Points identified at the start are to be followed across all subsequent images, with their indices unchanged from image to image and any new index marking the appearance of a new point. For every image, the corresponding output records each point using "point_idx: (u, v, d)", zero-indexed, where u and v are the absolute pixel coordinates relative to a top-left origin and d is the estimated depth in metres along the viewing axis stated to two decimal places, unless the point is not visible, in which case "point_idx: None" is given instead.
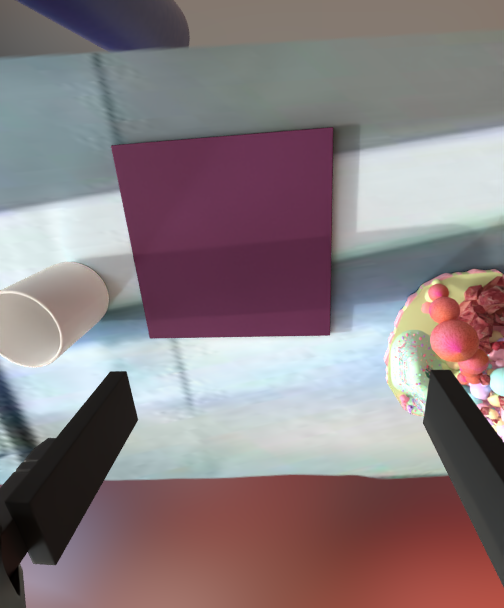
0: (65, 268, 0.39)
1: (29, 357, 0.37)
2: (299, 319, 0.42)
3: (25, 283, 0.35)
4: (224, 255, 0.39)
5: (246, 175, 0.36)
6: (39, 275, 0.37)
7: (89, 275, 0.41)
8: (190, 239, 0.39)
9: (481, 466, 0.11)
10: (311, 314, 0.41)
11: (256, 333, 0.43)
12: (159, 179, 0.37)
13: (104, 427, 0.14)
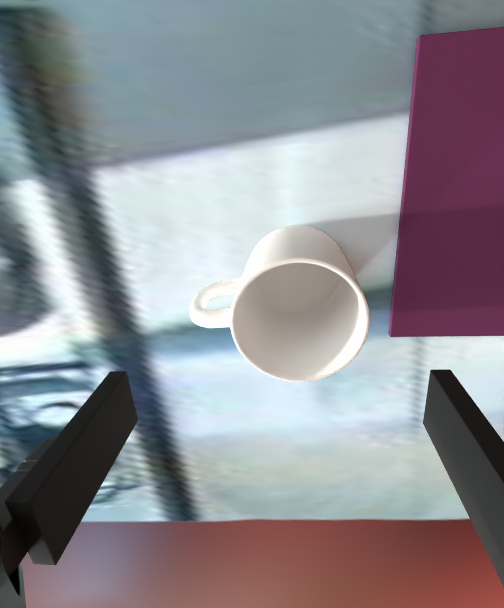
0: (311, 232, 0.26)
1: (281, 366, 0.24)
2: None
3: (303, 249, 0.22)
4: None
5: None
6: (299, 239, 0.24)
7: (336, 244, 0.28)
8: (502, 189, 0.26)
9: (481, 466, 0.11)
10: None
11: None
12: (483, 92, 0.24)
13: (104, 427, 0.14)
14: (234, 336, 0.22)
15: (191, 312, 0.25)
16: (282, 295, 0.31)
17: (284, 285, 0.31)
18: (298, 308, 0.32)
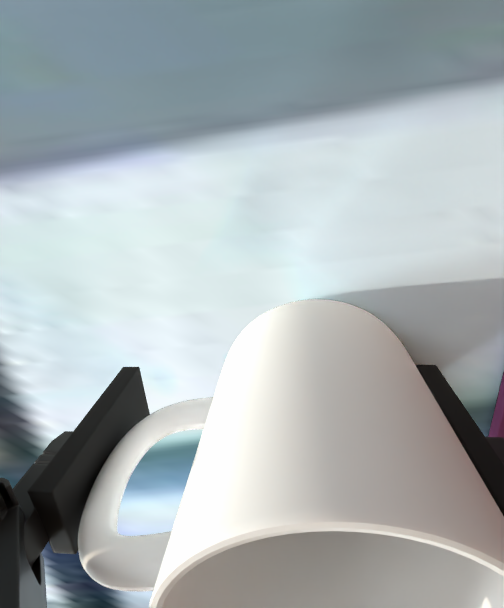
0: (353, 326, 0.12)
1: None
2: None
3: (356, 435, 0.08)
4: None
5: None
6: (333, 370, 0.10)
7: (399, 343, 0.14)
8: None
9: None
10: None
11: None
12: None
13: (119, 421, 0.14)
14: None
15: (79, 532, 0.10)
16: None
17: None
18: None
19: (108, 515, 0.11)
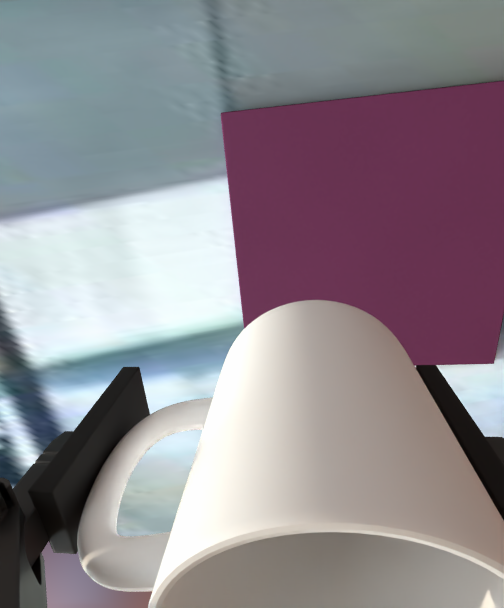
0: (352, 327, 0.12)
1: None
2: (455, 343, 0.31)
3: (354, 436, 0.08)
4: (363, 261, 0.29)
5: (410, 150, 0.26)
6: (332, 371, 0.10)
7: (398, 343, 0.14)
8: (318, 240, 0.29)
9: None
10: (473, 337, 0.31)
11: None
12: (284, 159, 0.27)
13: (119, 421, 0.14)
14: None
15: (79, 533, 0.11)
16: None
17: None
18: None
19: (107, 515, 0.11)
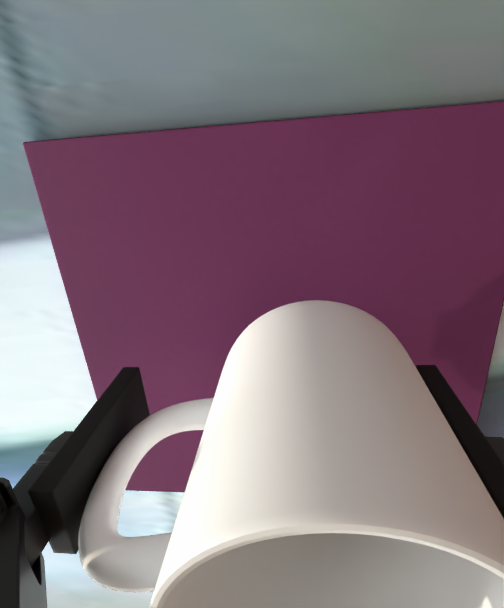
0: (352, 328, 0.12)
1: None
2: None
3: (356, 437, 0.08)
4: None
5: (323, 209, 0.16)
6: (333, 371, 0.10)
7: (399, 344, 0.14)
8: (197, 332, 0.19)
9: None
10: None
11: None
12: (131, 215, 0.17)
13: (119, 421, 0.14)
14: None
15: (80, 533, 0.11)
16: None
17: None
18: None
19: (108, 516, 0.11)
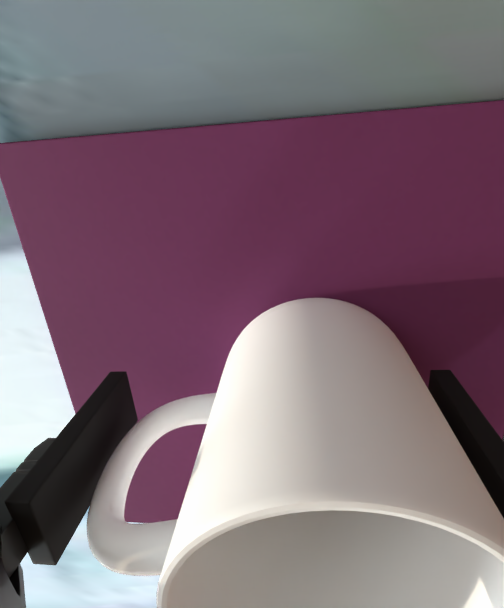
0: (351, 323, 0.13)
1: None
2: None
3: (353, 424, 0.08)
4: None
5: (329, 219, 0.14)
6: (332, 364, 0.10)
7: (397, 340, 0.14)
8: (188, 355, 0.17)
9: (481, 466, 0.11)
10: None
11: None
12: (113, 226, 0.15)
13: (104, 427, 0.14)
14: None
15: (88, 521, 0.11)
16: None
17: None
18: None
19: (115, 504, 0.11)
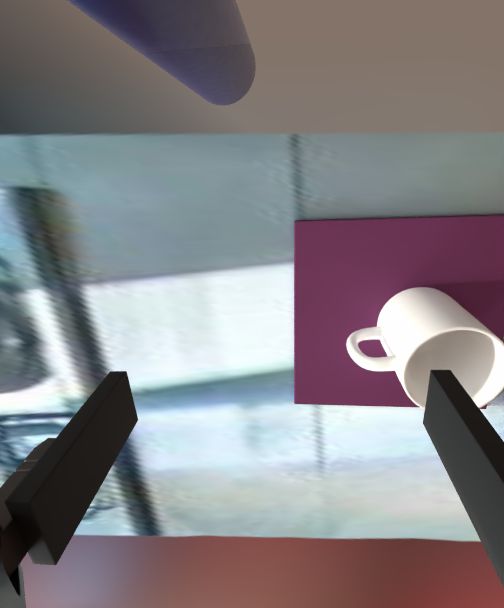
0: (443, 295, 0.34)
1: None
2: None
3: (459, 317, 0.29)
4: None
5: (431, 255, 0.36)
6: (444, 305, 0.31)
7: None
8: (358, 312, 0.39)
9: (481, 466, 0.11)
10: None
11: (408, 403, 0.42)
12: (338, 255, 0.37)
13: (104, 427, 0.14)
14: (403, 380, 0.30)
15: (358, 358, 0.32)
16: None
17: None
18: None
19: (364, 355, 0.32)
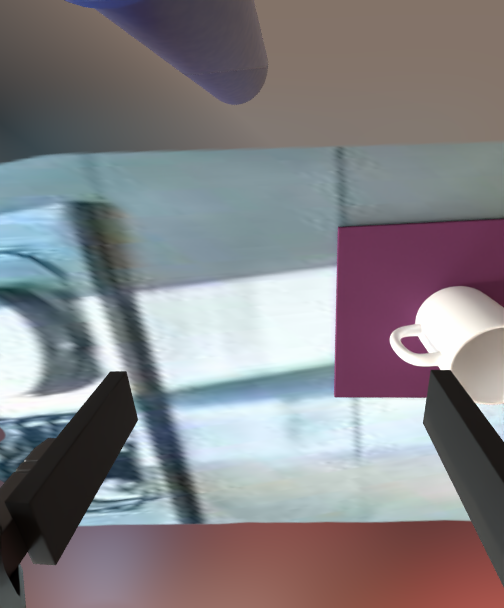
0: (480, 294, 0.37)
1: (471, 392, 0.34)
2: None
3: (501, 315, 0.32)
4: None
5: (467, 256, 0.38)
6: (485, 304, 0.34)
7: None
8: (397, 310, 0.41)
9: (481, 466, 0.11)
10: None
11: None
12: (379, 258, 0.39)
13: (104, 427, 0.14)
14: None
15: (405, 354, 0.35)
16: None
17: None
18: None
19: None
